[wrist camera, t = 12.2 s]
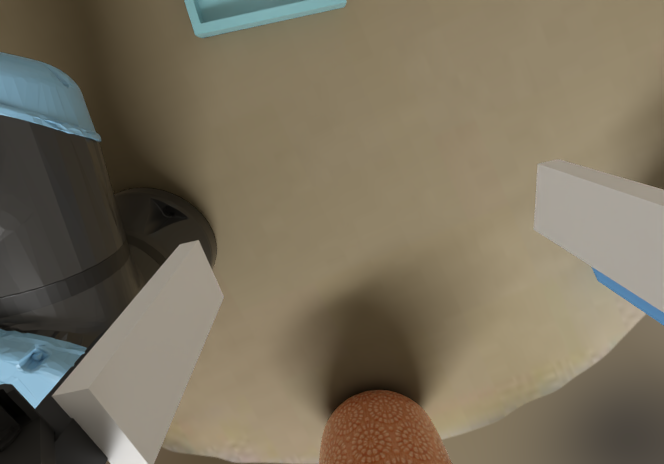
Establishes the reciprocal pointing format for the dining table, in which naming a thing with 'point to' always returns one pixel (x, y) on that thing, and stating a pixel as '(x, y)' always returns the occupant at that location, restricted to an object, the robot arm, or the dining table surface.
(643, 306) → the water bottle
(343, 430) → the planter
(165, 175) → the dining table surface
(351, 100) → the dining table surface
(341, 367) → the dining table surface
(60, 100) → the robot arm
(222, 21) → the tray
